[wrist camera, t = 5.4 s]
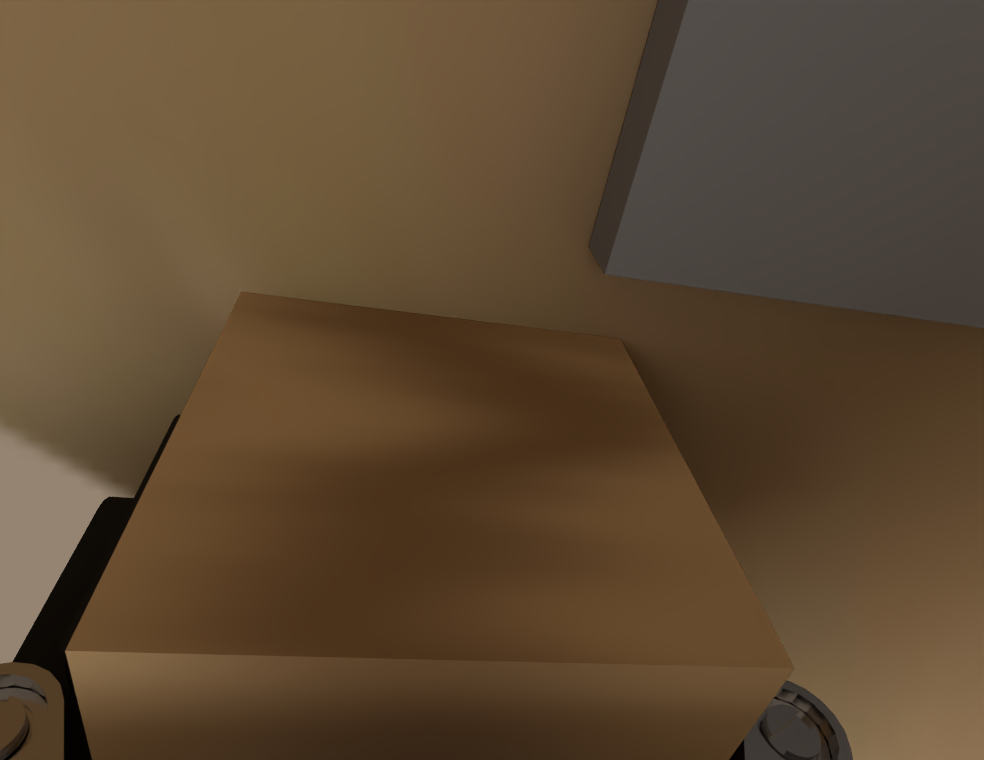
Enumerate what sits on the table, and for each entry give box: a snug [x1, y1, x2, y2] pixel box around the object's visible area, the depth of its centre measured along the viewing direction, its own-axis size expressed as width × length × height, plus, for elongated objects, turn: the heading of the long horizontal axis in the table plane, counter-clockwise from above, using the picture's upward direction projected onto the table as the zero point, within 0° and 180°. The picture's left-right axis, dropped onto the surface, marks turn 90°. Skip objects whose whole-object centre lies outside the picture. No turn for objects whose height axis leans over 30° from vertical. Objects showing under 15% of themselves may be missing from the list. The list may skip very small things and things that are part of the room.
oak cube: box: [65, 292, 795, 760], centre depth 9 cm, size 6×6×6 cm
